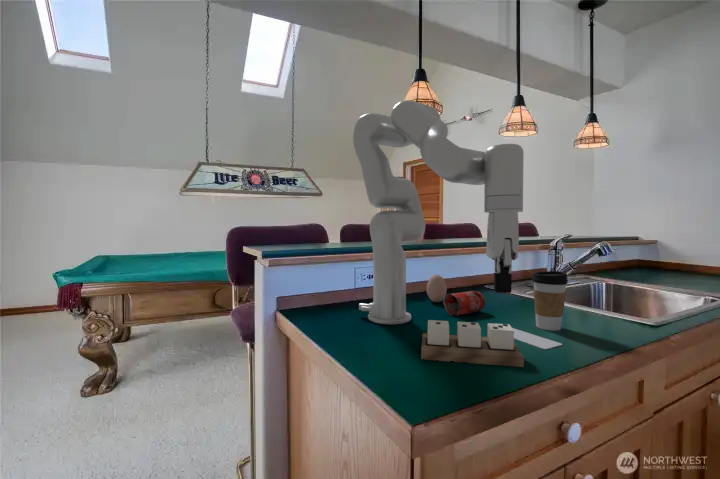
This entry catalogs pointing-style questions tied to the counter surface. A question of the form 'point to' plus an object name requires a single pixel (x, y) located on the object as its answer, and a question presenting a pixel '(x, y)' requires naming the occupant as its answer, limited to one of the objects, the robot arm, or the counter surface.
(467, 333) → the white die
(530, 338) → the smartphone
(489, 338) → the white die
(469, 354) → the board
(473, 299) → the beverage can
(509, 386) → the counter surface
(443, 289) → the egg
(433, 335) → the white die
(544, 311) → the coffee cup
